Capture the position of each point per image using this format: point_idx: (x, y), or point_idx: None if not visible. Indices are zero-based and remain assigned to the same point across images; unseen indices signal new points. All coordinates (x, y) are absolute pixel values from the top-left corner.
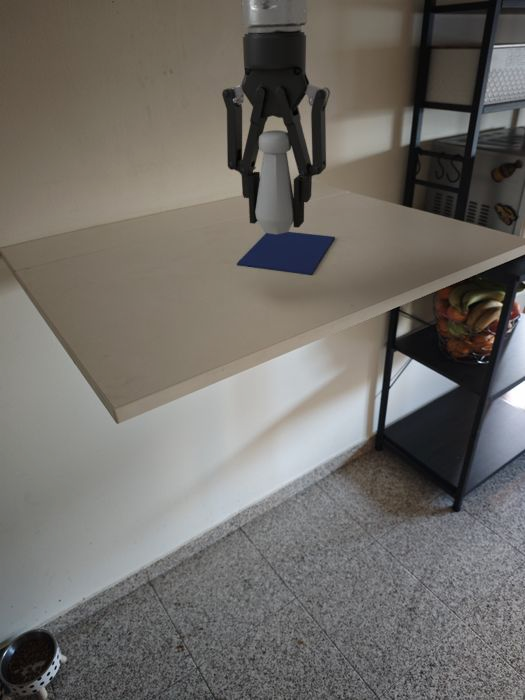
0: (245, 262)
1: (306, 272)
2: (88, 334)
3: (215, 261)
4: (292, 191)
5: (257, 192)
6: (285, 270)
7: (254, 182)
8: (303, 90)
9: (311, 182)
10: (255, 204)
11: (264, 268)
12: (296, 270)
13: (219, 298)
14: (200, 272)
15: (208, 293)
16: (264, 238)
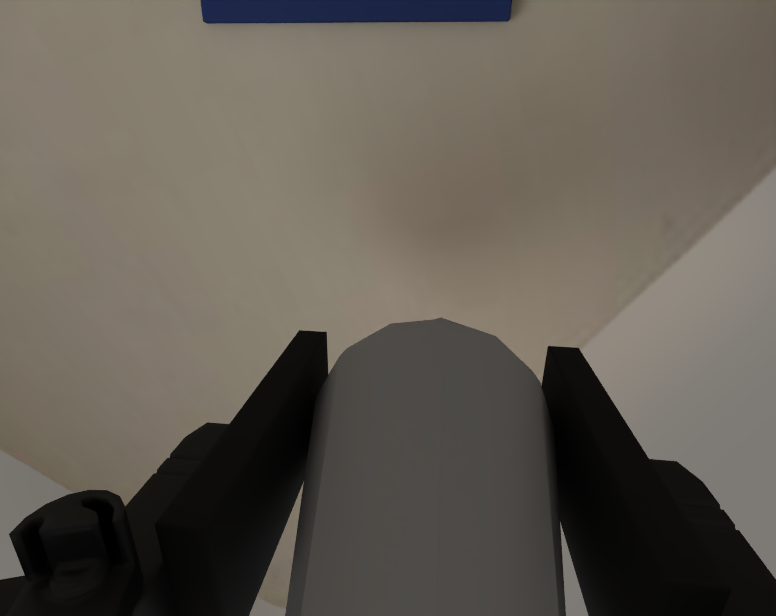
0: (230, 2)
1: (487, 19)
2: (112, 480)
3: (117, 13)
4: (559, 531)
5: (278, 467)
6: (401, 20)
7: (249, 582)
8: None
9: (772, 581)
10: (302, 459)
11: (316, 22)
12: (445, 15)
13: (273, 282)
14: (127, 130)
15: (230, 263)
16: None
